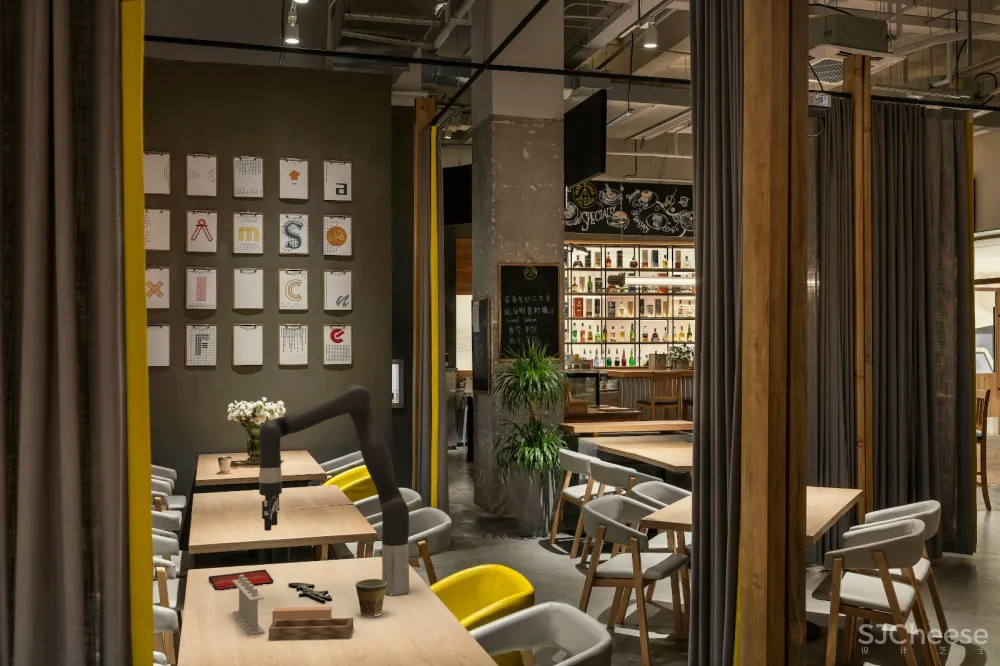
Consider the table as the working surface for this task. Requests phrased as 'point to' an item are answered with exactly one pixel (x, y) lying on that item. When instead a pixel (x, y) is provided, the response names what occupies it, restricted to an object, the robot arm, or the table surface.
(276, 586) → the table surface
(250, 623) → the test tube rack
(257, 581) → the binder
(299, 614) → the clay strip
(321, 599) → the dark angular piece
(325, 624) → the shallow wooden tray
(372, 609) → the ceramic cup
